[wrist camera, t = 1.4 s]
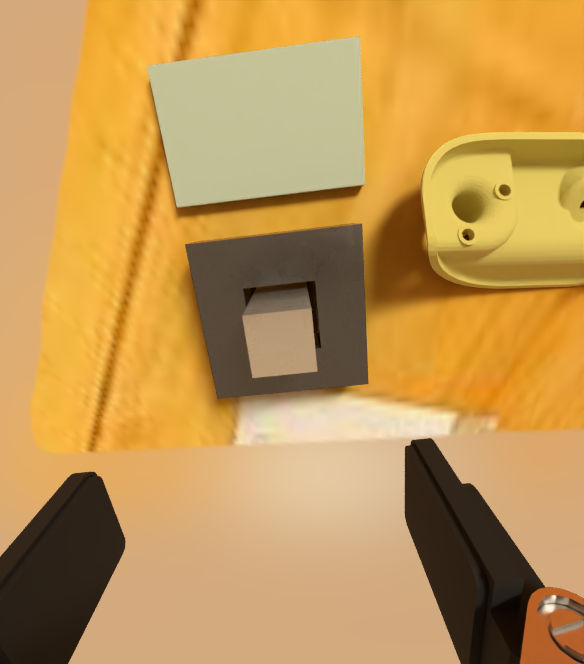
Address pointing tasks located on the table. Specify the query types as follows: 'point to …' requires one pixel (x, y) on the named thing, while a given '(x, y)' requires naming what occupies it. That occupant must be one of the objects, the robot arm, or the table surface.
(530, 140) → the plastic component
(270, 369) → the beige peg
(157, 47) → the table surface
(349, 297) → the socket block
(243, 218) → the table surface
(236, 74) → the sage mat
